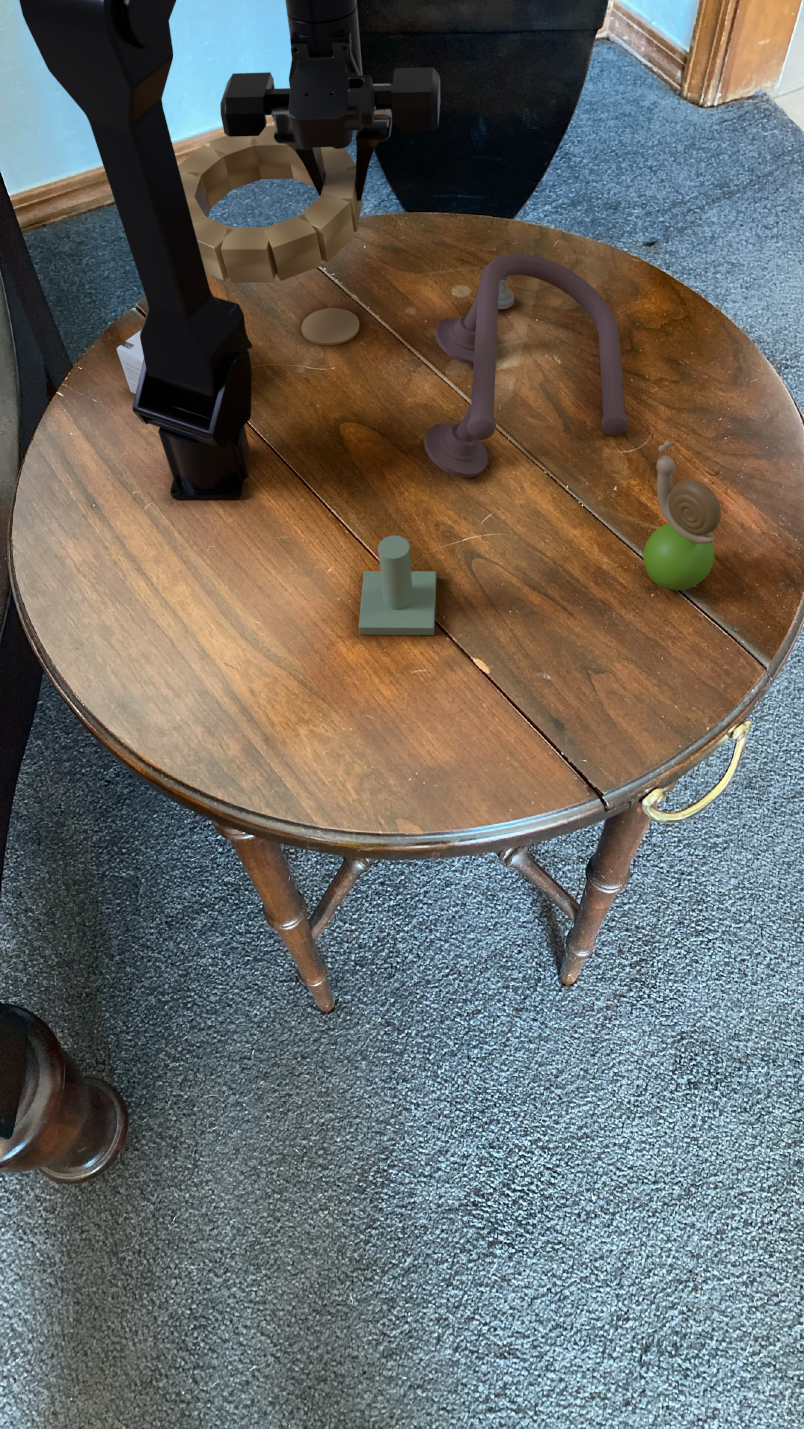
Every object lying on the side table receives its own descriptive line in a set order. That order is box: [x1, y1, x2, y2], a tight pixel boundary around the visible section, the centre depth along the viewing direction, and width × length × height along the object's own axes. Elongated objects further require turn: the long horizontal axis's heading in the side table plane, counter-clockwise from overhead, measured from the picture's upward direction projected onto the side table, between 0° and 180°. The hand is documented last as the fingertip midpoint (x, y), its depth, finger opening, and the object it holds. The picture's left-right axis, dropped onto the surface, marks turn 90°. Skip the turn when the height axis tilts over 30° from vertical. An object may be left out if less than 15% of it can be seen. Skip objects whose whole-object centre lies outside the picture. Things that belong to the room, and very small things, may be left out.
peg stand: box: [358, 535, 437, 636], centre depth 76 cm, size 6×6×7 cm
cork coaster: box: [301, 307, 360, 347], centre depth 101 cm, size 6×6×1 cm
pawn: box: [498, 276, 515, 310], centre depth 100 cm, size 3×3×4 cm
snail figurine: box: [642, 440, 722, 591], centre depth 75 cm, size 5×6×12 cm
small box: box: [116, 329, 144, 395], centre depth 94 cm, size 8×8×5 cm
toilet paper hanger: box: [423, 252, 629, 479], centre depth 92 cm, size 28×7×17 cm
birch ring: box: [178, 125, 363, 283], centre depth 92 cm, size 18×18×4 cm
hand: (342, 199), depth 91 cm, fingers closed on birch ring, 3 cm apart
